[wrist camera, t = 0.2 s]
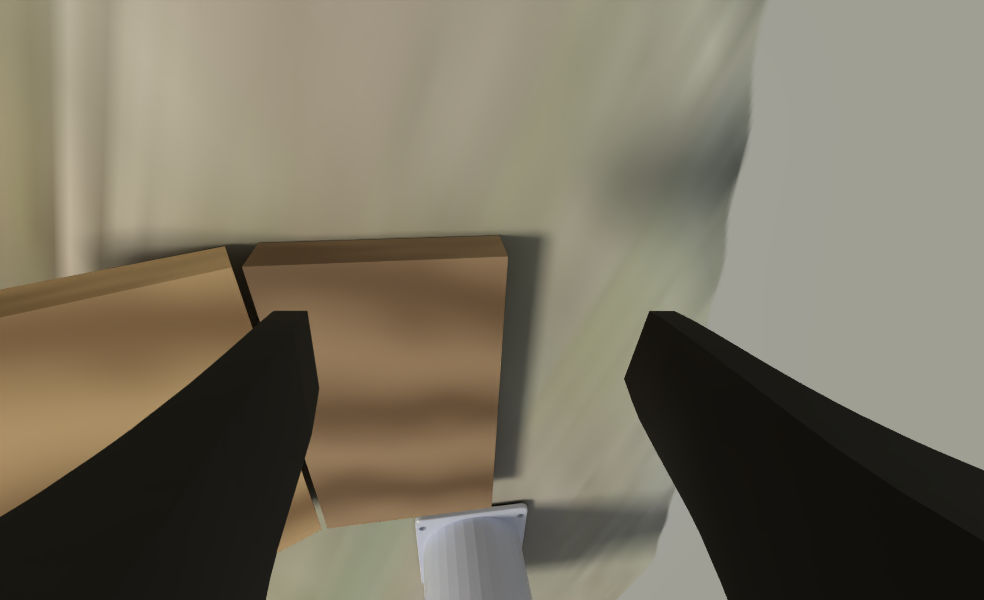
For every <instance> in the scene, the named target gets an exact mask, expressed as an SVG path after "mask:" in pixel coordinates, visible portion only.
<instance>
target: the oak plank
mask: <svg viewBox="0 0 984 600" xmlns="http://www.w3.org/2000/svg"><path fill="white" fill-rule="evenodd" d="M252 329H253V327H252V324H251V321H250V318H249V315H248V313H247V310H246V307H245V304H244V301H243V298H242V295H241V292H240V289H239V286H238V283H237V280H236V278H235V275H234V272H233V269H232V266H231V263H230V260H229V257H228V254H227V251H226V248H225V246H223V247H218V248H213V249H208V250H203V251H198V252H192V253H187V254H182V255H177V256H172V257H167V258H162V259H156V260H151V261H146V262H141V263H136V264H131V265H125V266H120V267H115V268H110V269H105V270H100V271H95V272H89V273H84V274H79V275H74V276H69V277H64V278H58V279H53V280H48V281H43V282H38V283H33V284H27V285H22V286H17V287H12V288H7V289H2V290H0V517H1V516H2V515H4V514H6V513H7V512H9V511H11V510H12V509H14V508H15V507H17V506H19V505H20V504H22V503H24V502H25V501H27V500H28V499H30V498H31V497H33V496H35V495H36V494H38V493H39V492H41V491H42V490H44V489H45V488H47V487H48V486H50V485H51V484H53V483H54V482H56V481H57V480H59V479H60V478H62V477H63V476H65V475H66V474H68V473H69V472H71V471H72V470H74V469H75V468H77V467H78V466H79V465H81V464H82V463H84V462H85V461H87V460H88V459H90V458H91V457H93V456H94V455H96V454H97V453H98V452H100V451H101V450H103V449H104V448H105V447H107V446H108V445H110V444H111V443H113V442H114V441H115V440H117V439H118V438H119V437H121V436H122V435H124V434H125V433H126V432H128V431H129V430H130V429H132V428H133V427H134V426H136V425H137V424H138V423H139V422H141V421H142V420H143V419H145V418H146V417H147V416H148V415H150V414H151V413H152V412H154V411H155V410H156V409H157V408H159V407H160V406H161V405H163V404H164V403H165V402H166V401H168V400H169V399H170V398H171V397H173V396H174V395H175V394H177V393H178V392H179V391H180V390H182V389H183V388H184V387H186V386H187V385H188V384H189V383H191V382H192V381H193V380H194V379H195V378H196V377H198V376H199V375H200V374H201V373H202V372H203V371H205V370H206V369H207V368H208V367H209V366H211V365H212V364H213V363H214V362H215V361H216V360H218V359H219V358H220V357H221V356H222V355H223V354H225V353H226V352H227V351H228V350H229V349H230V348H231V347H232V346H234V345H235V344H236V343H237V342H238V341H239V340H240V339H242V338H243V337H244V336H245V335H246V334H247V333H248V332H249V331H251V330H252ZM319 530H321V526H320V523H319V520H318V517H317V514H316V511H315V508H314V505H313V502H312V499H311V496H310V493H309V491H308V488H307V485H306V482H305V479H304V476H303V473H302V470H301V473H300V477H299V480H298V483H297V487H296V490H295V493H294V497H293V500H292V503H291V507H290V510H289V513H288V517H287V520H286V523H285V527H284V530H283V533H282V537H281V540H280V543H279V547H278V550H277V553H278V552H280V551H282V550H283V549H285V548H287V547H289V546H291V545H293V544H295V543H297V542H299V541H301V540H302V539H304V538H306V537H308V536H310V535H312V534H314V533H316V532H318V531H319Z"/></svg>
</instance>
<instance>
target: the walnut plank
mask: <svg viewBox="0 0 984 600" xmlns="http://www.w3.org/2000/svg"><path fill="white" fill-rule="evenodd" d="M507 265H508V255H507V253H506V250H505V248H504V245H503V243H502V240H501V237H500V236H467V237H435V238H403V239H370V240H338V241H305V242H273V243H258V244H257V245H256V247H255V248H254V250H253V251H252V253H251V254H250V256H249V257H248V259H247V260H246V262H245V263H244V265H243V266H242V268H243V272H244V275H245V278H246V281H247V284H248V287H249V290H250V293H251V296H252V299H253V302H254V305H255V308H256V311H257V314H258V317H259V320H260V322H261V321H262V320H263V319H264V318H265V317H267V316H268V315H269V314H270V313H271V312H273V311H308V317H309V324H310V330H311V337H312V343H313V350H314V356H315V363H316V369H317V376H318V382H319V394H318V401H317V407H316V413H315V419H314V425H313V430H312V436H311V439H310V443H309V446H308V450H307V453H306V456H305V461H306V464H307V467H308V470H309V473H310V476H311V479H312V482H313V485H314V488H315V491H316V494H317V497H318V500H319V503H320V506H321V510H322V513H323V516H324V519H325V522H326V525H327V528H334V527H342V526H349V525H357V524H365V523H373V522H381V521H389V520H397V519H405V518H413V517H420V516H428V515H436V514H444V513H452V512H460V511H468V510H476V509H484V508H491V506H492V491H493V476H494V461H495V446H496V431H497V415H498V400H499V385H500V370H501V355H502V340H503V325H504V310H505V295H506V280H507Z"/></svg>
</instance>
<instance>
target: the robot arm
mask: <svg viewBox="0 0 984 600" xmlns="http://www.w3.org/2000/svg"><path fill="white" fill-rule="evenodd" d="M624 380H625V382H626V385H627V388H628V391H629V394H630V397H631V400H632V402H633V405H634V407H635V410H636V412H637V415H638V417H639V420H640V422H641V423H642V425H643V427H644V429H645V431H646V433H647V435H648V437H649V439H650V441H651V442H652V444H653V446H654V448H655V450H656V452H657V454H658V456H659V457H660V459H661V461H662V463H663V465H664V466H665V468H666V470H667V472H668V474H669V476H670V477H671V479H672V481H673V483H674V485H675V487H676V488H677V490H678V492H679V494H680V496H681V498H682V499H683V501H684V503H685V505H686V507H687V509H688V510H689V512H690V514H691V516H692V518H693V521H694V522H695V525H696V527H697V529H698V531H699V533H700V535H701V537H702V539H703V542H704V544H705V546H706V549H707V551H708V553H709V556H710V558H711V560H712V563H713V565H714V567H715V570H716V572H717V574H718V577H719V579H720V582H721V584H722V586H723V589H724V592H725V594H726V596H727V599H728V600H984V470H982V469H979V468H977V467H974V466H972V465H970V464H967V463H965V462H962V461H960V460H958V459H955V458H953V457H951V456H948V455H946V454H943V453H941V452H938V451H936V450H934V449H932V448H929V447H927V446H925V445H923V444H921V443H918V442H916V441H914V440H911V439H910V438H907V437H905V436H903V435H901V434H899V433H897V432H895V431H893V430H890V429H889V428H886V427H884V426H882V425H880V424H878V423H876V422H874V421H872V420H870V419H868V418H865V417H863V416H861V415H859V414H857V413H856V412H854V411H852V410H850V409H848V408H846V407H844V406H842V405H840V404H838V403H836V402H834V401H832V400H830V399H829V398H827V397H825V396H823V395H821V394H819V393H818V392H816V391H814V390H812V389H810V388H808V387H806V386H805V385H803V384H801V383H799V382H797V381H796V380H794V379H792V378H791V377H789V376H787V375H785V374H783V373H782V372H780V371H778V370H777V369H775V368H773V367H771V366H769V365H768V364H766V363H764V362H763V361H761V360H759V359H758V358H756V357H754V356H753V355H751V354H749V353H748V352H746V351H744V350H743V349H741V348H739V347H738V346H736V345H734V344H733V343H731V342H729V341H728V340H726V339H724V338H723V337H721V336H719V335H717V334H716V333H714V332H712V331H711V330H709V329H707V328H705V327H704V326H702V325H700V324H698V323H697V322H695V321H693V320H691V319H689V318H687V317H685V316H683V315H681V314H679V313H677V312H675V311H649V314H648V316H647V319H646V322H645V324H644V327H643V330H642V332H641V335H640V338H639V340H638V343H637V346H636V348H635V351H634V354H633V356H632V359H631V362H630V364H629V367H628V370H627V373H626V375H625V378H624ZM318 394H319V382H318V376H317V369H316V363H315V356H314V350H313V343H312V337H311V330H310V324H309V317H308V311H273V312H271V313H270V314H269V315H268V316H267V317H265V318H264V319H263V320H262V321H261V322H260V323H259V324H257V325H256V326H255V327H254V328H253V329H252V330H251V331H249V332H248V333H247V334H246V335H245V336H244V337H243V338H242V339H240V340H239V341H238V342H237V343H236V344H235V345H234V346H232V347H231V348H230V349H229V350H228V351H227V352H226V353H225V354H223V355H222V356H221V357H220V358H219V359H218V360H216V361H215V362H214V363H213V364H212V365H211V366H209V367H208V368H207V369H206V370H205V371H203V372H202V373H201V374H200V375H199V376H198V377H196V378H195V379H194V380H193V381H192V382H191V383H189V384H188V385H187V386H186V387H184V388H183V389H182V390H180V391H179V392H178V393H177V394H175V395H174V396H173V397H171V398H170V399H169V400H168V401H166V402H165V403H164V404H163V405H161V406H160V407H159V408H157V409H156V410H155V411H154V412H152V413H151V414H150V415H148V416H147V417H146V418H145V419H143V420H142V421H141V422H139V423H138V424H137V425H136V426H134V427H133V428H132V429H130V430H129V431H128V432H126V433H125V434H124V435H122V436H121V437H119V438H118V439H117V440H115V441H114V442H113V443H111V444H110V445H108V446H107V447H105V448H104V449H103V450H101V451H100V452H98V453H97V454H96V455H94V456H93V457H91V458H90V459H88V460H87V461H85V462H84V463H82V464H81V465H79V466H78V467H77V468H75V469H74V470H72V471H71V472H69V473H68V474H66V475H65V476H63V477H62V478H60V479H59V480H57V481H56V482H54V483H53V484H51V485H50V486H48V487H47V488H45V489H44V490H42V491H41V492H39V493H38V494H36V495H35V496H33V497H31V498H30V499H28V500H27V501H25V502H24V503H22V504H20V505H19V506H17V507H15V508H14V509H12V510H11V511H9V512H7V513H6V514H4V515H2V516H1V517H0V600H266V596H267V591H268V586H269V581H270V577H271V573H272V569H273V565H274V562H275V558H276V554H277V550H278V547H279V543H280V540H281V537H282V533H283V530H284V527H285V523H286V520H287V517H288V513H289V510H290V507H291V503H292V500H293V497H294V493H295V490H296V487H297V483H298V480H299V477H300V473H301V470H302V467H303V463H304V460H305V456H306V453H307V450H308V446H309V443H310V439H311V436H312V430H313V425H314V419H315V413H316V407H317V401H318ZM527 511H528V510H527V506H526V504H524V503H518V504H510V505H502V506H494V507H491V508H484V509H476V510H468V511H460V512H452V513H444V514H436V515H428V516H420V517H417V518H416V520H415V528H416V536H417V545H418V554H419V563H420V571H421V580H422V583H423V584H424V598H425V600H532V596H531V591H530V586H529V582H528V577H527V572H526V567H525V562H524V557H523V552H522V544H523V538H524V531H525V524H526V518H527Z"/></svg>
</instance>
